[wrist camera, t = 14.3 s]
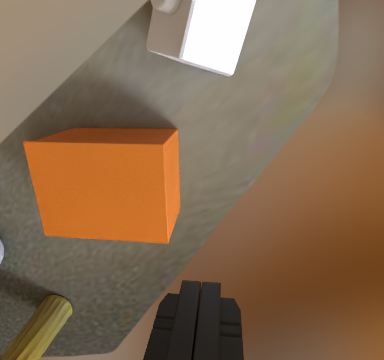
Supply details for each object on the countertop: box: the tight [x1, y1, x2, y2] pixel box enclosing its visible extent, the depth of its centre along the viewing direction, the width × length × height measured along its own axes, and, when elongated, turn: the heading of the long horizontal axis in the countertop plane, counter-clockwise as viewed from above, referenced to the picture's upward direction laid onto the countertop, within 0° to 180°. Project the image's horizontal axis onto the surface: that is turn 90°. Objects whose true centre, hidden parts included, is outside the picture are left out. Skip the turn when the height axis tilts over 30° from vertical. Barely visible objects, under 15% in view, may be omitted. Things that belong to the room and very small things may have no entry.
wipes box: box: [35, 128, 180, 239], centre depth 36 cm, size 16×13×9 cm
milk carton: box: [146, 0, 256, 77], centre depth 24 cm, size 7×7×19 cm
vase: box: [0, 295, 72, 360], centre depth 46 cm, size 6×6×14 cm
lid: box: [23, 140, 169, 243], centre depth 32 cm, size 16×13×1 cm
